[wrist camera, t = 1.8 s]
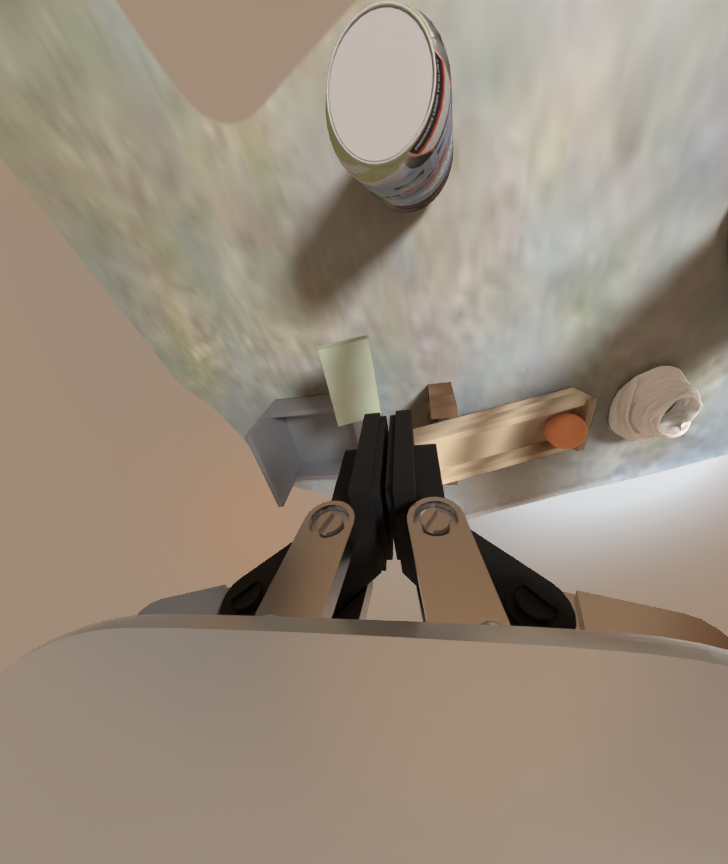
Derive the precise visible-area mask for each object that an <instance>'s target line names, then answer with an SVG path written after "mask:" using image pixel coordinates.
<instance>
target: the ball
mask: <svg viewBox="0 0 728 864" xmlns="http://www.w3.org/2000/svg"><path fill="white" fill-rule="evenodd" d="M544 432H545V437H546V439H547V440H548V441H549V442H550V443H551V444H552V445H553V446H555V447H558V448H562V449H570V448H574V447H577V446H579V445H580V444H582V443H583V442H584V440H585V439H586V437H587V434H588V428H587V425H586V423H585V421H584V420H583V419H582V418H580V417H579V416H577V415H575V414H571V413H561V414H558V415H555V416H553V417H552V418H551V419H549V421H548V422H547V423H546V425H545V429H544Z"/></svg>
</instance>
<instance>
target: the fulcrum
mask: <svg viewBox="0 0 728 864" xmlns="http://www.w3.org/2000/svg"><path fill="white" fill-rule="evenodd" d="M428 392H429V399H426V403H427V417H428V425H431V424H434V423H437V419H441V418H449V420H450V419H454V418H457V405H456V401H455V397H454V393H453V390H452V386H451V382H448V383H438V384H428ZM444 485H457V481H455V482H451V483H448V484H444Z"/></svg>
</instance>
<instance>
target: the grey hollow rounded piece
mask: <svg viewBox="0 0 728 864" xmlns="http://www.w3.org/2000/svg"><path fill="white" fill-rule="evenodd" d="M700 397H701V394H700V392H699V391H698V389H697V388H695V387H692V386H691V385H690V383H689V381H688V380H687V379H686V378H685V375H684V374H683V372H682V371H681V370H680V369H679V368H676V367H673V366H659V367H656V368H653V369H651V370H649V371H646V372H644V373H642V374H639V375H637V376H635V377H634V378H633V379H632V380H630V381H629V382H628V383H626V384H625V385H624V386H623V387H622V388H621V389H620V390H619V391H618V392H617V394H616V396H615V397H614V399H613V401H612V403H611V406H610V411H609V418H608V420H609V425H610V427H611V429H612V430H613V431H614V432H615V433H616V434H618V435H620V436H621V437H622V438H624V439H628V440H631V441H635V440H636V441H648V440H650V439H651V438H652V437H654V436H657V437H662V438H667V439H671V438H676V437H679V436H681V435H683V434H684V433H685V432H686V431H687V430H688V428H689V426H690V424H691V421H692V419H694V418H695V417H696V415H697V414H698V413H699V412H700V410H701V409H702V405H703V404H702V401H701V399H700ZM675 402H676V404H675V405H674V407H673V408H672V409H671V410H670V411H669V412H667V413H666V414H665V412H666V411H667V410H668V409H669V408H670V407H671V406H672V405H673V404H674V403H675ZM664 414H665V415H664ZM663 415H664V416H663Z"/></svg>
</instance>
